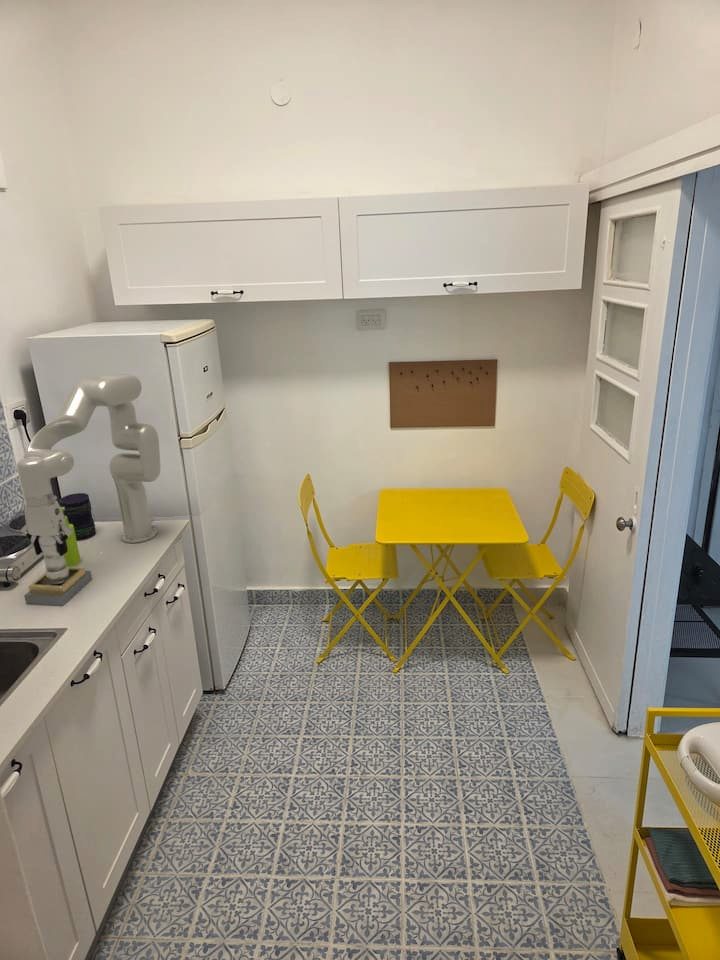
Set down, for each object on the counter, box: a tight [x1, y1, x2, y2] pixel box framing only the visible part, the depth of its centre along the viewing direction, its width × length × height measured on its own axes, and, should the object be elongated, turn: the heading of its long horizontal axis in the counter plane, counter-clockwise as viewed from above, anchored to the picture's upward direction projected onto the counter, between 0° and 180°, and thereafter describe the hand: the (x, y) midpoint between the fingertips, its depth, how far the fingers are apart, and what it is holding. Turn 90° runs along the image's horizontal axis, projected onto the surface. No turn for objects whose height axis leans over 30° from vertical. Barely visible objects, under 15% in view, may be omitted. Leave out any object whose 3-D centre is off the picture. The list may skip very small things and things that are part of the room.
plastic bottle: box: [38, 535, 70, 585], centre depth 189 cm, size 6×7×20 cm
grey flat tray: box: [23, 567, 93, 607], centre depth 192 cm, size 16×12×5 cm
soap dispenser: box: [60, 506, 81, 568], centre depth 208 cm, size 6×7×20 cm
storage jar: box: [59, 492, 97, 542], centre depth 229 cm, size 10×10×15 cm
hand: (52, 553), depth 189 cm, fingers open, 7 cm apart
